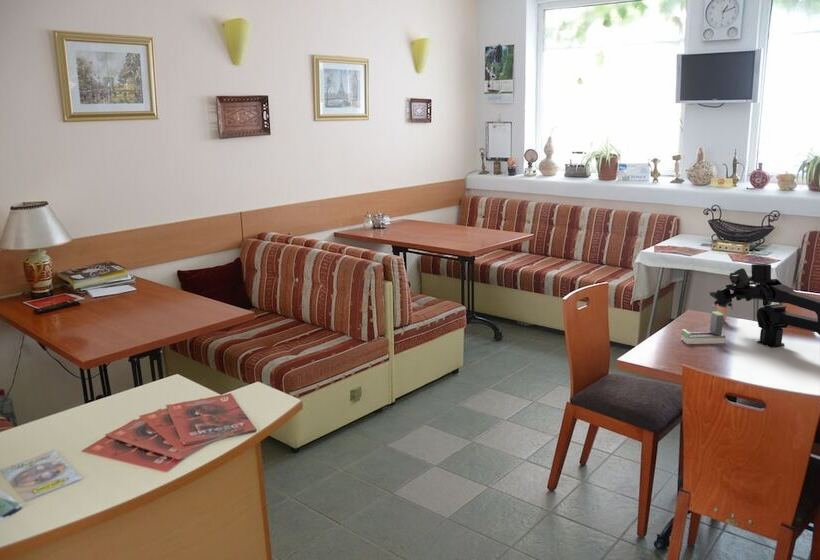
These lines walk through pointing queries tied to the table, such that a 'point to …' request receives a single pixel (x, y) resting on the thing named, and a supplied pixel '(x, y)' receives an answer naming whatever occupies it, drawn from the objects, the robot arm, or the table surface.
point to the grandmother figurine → (722, 309)
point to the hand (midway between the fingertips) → (718, 290)
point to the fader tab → (716, 323)
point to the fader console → (701, 337)
